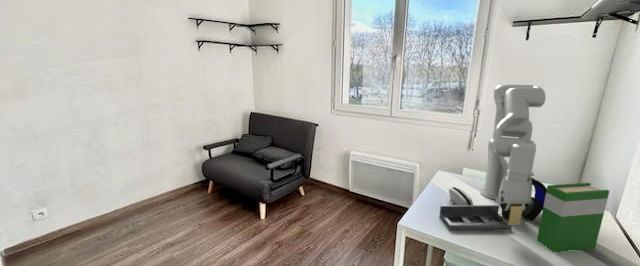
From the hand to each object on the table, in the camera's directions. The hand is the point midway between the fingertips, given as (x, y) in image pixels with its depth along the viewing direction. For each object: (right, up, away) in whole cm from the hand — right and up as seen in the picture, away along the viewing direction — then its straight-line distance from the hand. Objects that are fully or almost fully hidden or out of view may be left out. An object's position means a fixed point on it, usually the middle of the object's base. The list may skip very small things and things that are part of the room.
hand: (511, 217), depth 113 cm
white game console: (-6, -3, +29) cm, 29 cm away
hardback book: (+20, -10, -2) cm, 22 cm away
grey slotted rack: (-8, -7, +13) cm, 16 cm away
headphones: (+15, -6, +17) cm, 23 cm away
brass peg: (0, -2, +1) cm, 2 cm away
